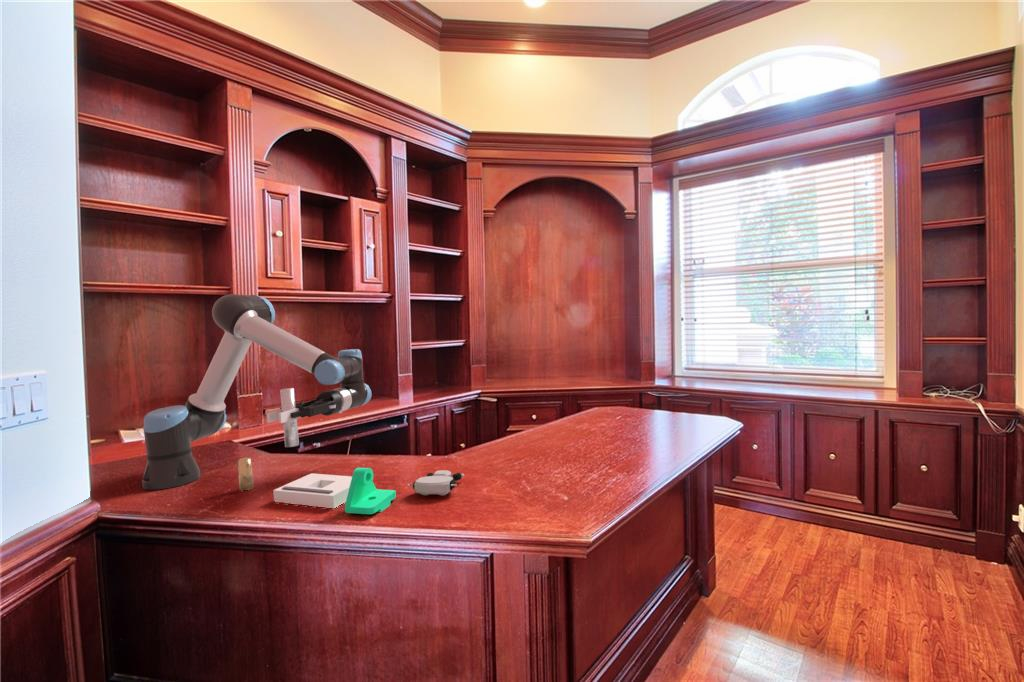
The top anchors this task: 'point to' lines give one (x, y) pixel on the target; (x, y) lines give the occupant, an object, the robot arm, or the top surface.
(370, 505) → the camera mount
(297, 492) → the hole plate
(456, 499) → the top surface
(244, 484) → the short pin
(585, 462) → the top surface
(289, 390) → the long pin
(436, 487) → the robot toy
